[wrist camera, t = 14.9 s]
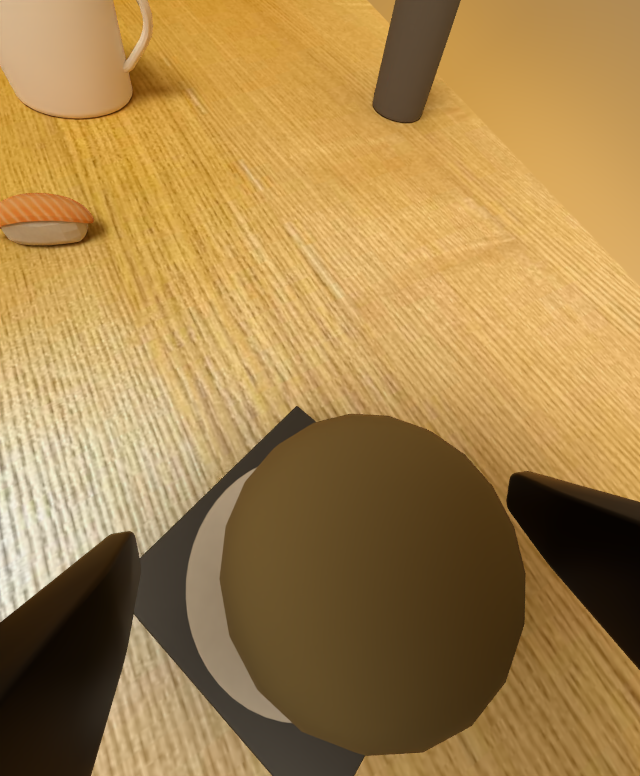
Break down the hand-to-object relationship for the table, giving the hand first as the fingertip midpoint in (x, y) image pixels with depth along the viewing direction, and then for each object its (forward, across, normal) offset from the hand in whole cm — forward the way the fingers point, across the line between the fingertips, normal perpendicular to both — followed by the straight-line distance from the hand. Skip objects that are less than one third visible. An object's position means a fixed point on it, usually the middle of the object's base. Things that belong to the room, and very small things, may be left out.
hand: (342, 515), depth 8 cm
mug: (+38, +14, -22) cm, 46 cm away
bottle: (+39, -18, -24) cm, 49 cm away
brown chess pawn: (+5, 0, +6) cm, 8 cm away
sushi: (+24, +14, -8) cm, 29 cm away
